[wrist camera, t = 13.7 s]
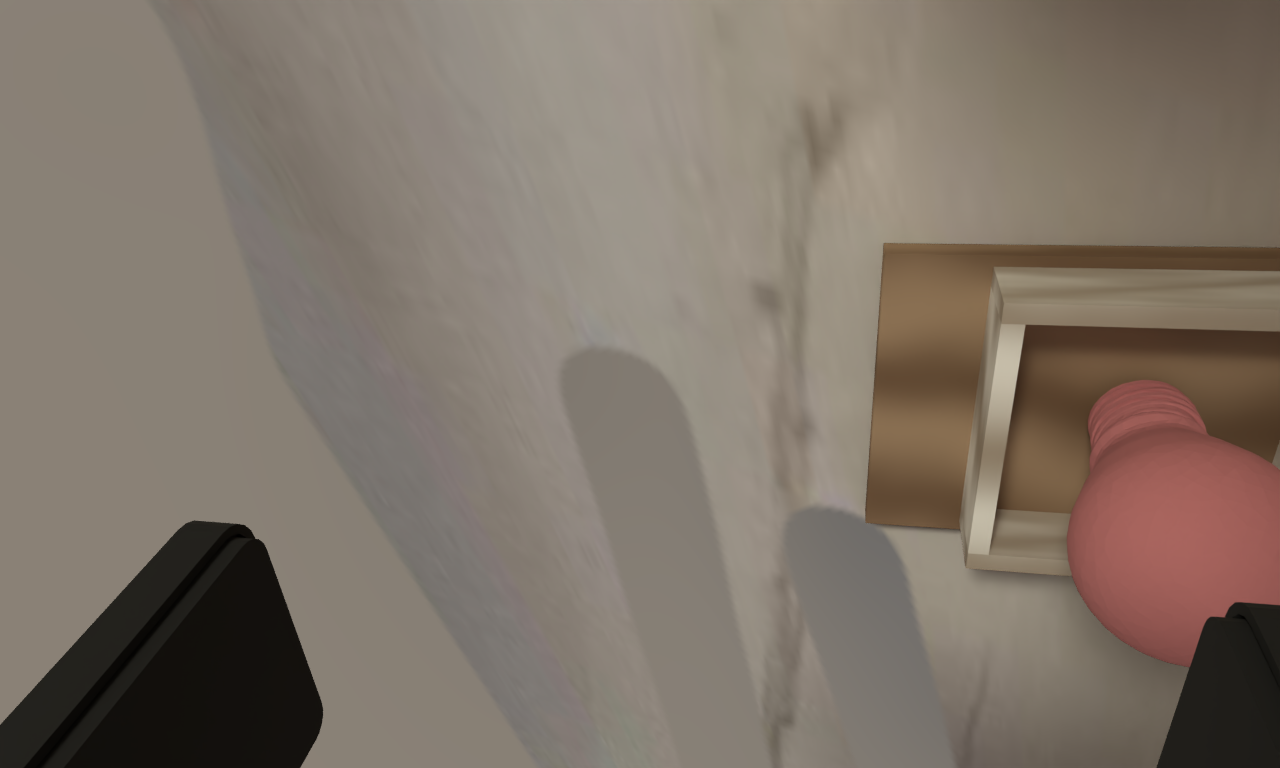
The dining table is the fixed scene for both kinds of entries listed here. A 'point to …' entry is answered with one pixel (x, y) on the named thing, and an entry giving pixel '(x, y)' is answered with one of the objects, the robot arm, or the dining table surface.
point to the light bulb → (1170, 522)
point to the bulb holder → (1052, 376)
